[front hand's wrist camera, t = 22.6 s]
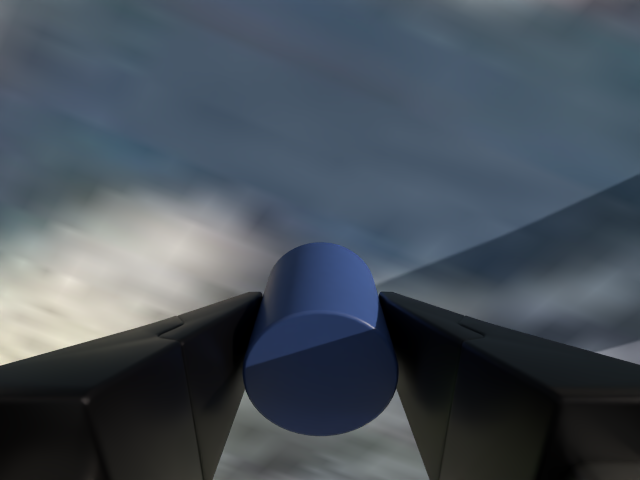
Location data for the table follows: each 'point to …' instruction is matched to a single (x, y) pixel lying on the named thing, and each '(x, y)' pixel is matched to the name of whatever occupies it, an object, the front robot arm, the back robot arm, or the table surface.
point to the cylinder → (320, 344)
